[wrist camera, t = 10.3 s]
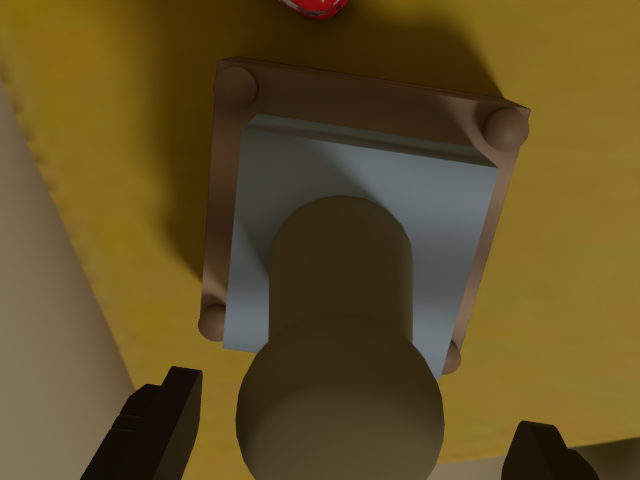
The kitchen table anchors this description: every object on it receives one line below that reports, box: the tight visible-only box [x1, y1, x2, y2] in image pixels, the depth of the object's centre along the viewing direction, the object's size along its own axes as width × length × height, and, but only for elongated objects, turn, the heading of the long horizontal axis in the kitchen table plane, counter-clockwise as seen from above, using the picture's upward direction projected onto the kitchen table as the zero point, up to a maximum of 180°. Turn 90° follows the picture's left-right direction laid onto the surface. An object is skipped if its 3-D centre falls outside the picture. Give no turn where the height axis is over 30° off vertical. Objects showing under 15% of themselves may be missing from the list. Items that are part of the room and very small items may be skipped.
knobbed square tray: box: [198, 57, 531, 380], centre depth 25 cm, size 14×14×8 cm
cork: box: [236, 195, 445, 480], centre depth 17 cm, size 6×6×11 cm
